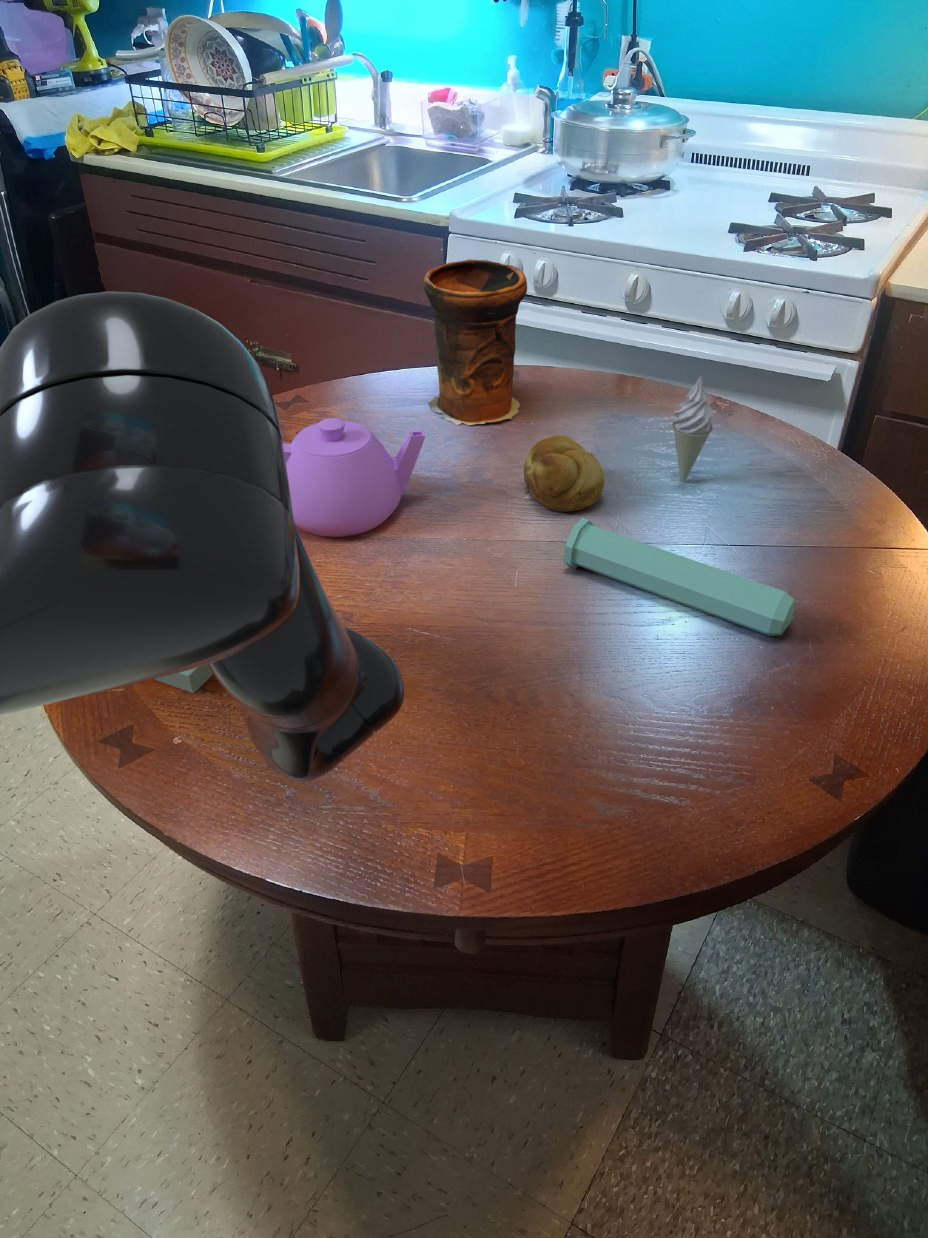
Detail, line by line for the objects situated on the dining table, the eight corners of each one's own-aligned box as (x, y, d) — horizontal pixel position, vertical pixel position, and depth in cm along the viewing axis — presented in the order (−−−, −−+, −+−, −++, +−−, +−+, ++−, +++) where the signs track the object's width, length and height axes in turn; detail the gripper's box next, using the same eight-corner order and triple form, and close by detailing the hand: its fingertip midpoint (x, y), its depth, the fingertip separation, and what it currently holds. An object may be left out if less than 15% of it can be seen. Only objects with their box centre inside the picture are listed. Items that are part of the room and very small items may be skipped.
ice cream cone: (656, 483, 115) (672, 375, 106) (675, 468, 118) (693, 362, 109) (690, 496, 113) (710, 386, 103) (709, 480, 116) (730, 373, 106)
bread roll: (511, 472, 118) (513, 417, 113) (580, 464, 119) (585, 410, 114) (537, 523, 108) (540, 465, 103) (611, 514, 110) (618, 457, 105)
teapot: (254, 553, 104) (236, 463, 96) (253, 486, 115) (238, 402, 108) (437, 532, 107) (434, 444, 99) (418, 470, 118) (414, 386, 111)
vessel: (451, 438, 126) (448, 297, 113) (413, 398, 136) (407, 266, 123) (539, 418, 130) (546, 281, 118) (496, 382, 140) (499, 252, 128)
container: (806, 581, 88) (585, 507, 99) (784, 627, 86) (560, 547, 96) (799, 611, 93) (589, 537, 104) (778, 656, 91) (566, 576, 101)
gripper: (302, 516, 70) (218, 437, 80) (124, 579, 63) (58, 484, 74) (313, 591, 74) (233, 506, 85) (149, 657, 68) (84, 557, 79)
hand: (152, 496), depth 79 cm, fingers closed on tumbler, 6 cm apart
